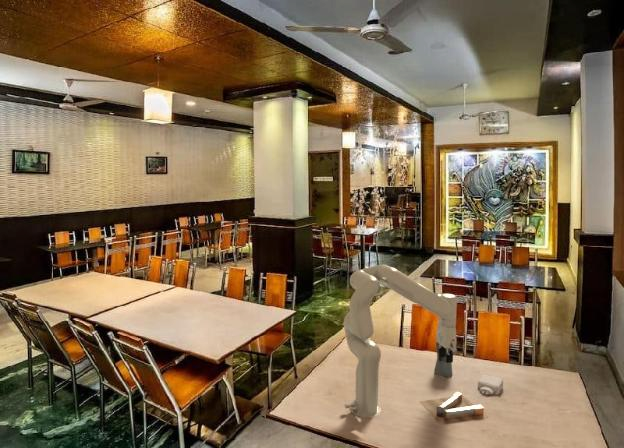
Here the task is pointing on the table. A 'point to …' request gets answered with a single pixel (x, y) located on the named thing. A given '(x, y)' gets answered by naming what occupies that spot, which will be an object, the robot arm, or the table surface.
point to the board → (433, 404)
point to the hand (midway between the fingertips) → (445, 359)
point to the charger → (490, 384)
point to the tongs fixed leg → (464, 412)
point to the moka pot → (442, 365)
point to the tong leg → (449, 404)
